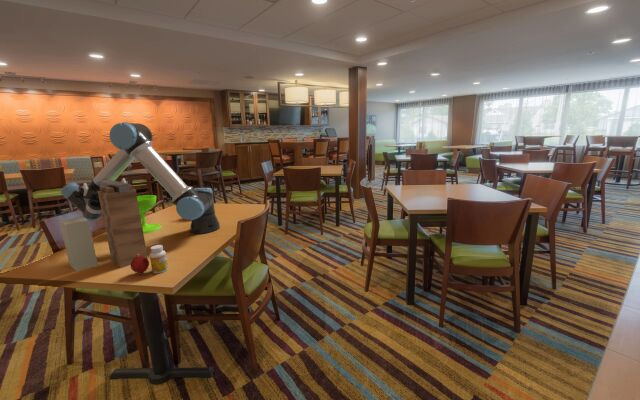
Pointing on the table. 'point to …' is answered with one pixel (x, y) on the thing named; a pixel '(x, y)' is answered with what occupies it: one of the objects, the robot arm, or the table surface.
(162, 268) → the supplement bottle
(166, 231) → the table surface
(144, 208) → the wineglass
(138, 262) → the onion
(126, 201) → the stand
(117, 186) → the bar
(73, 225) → the rest block
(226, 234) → the table surface
